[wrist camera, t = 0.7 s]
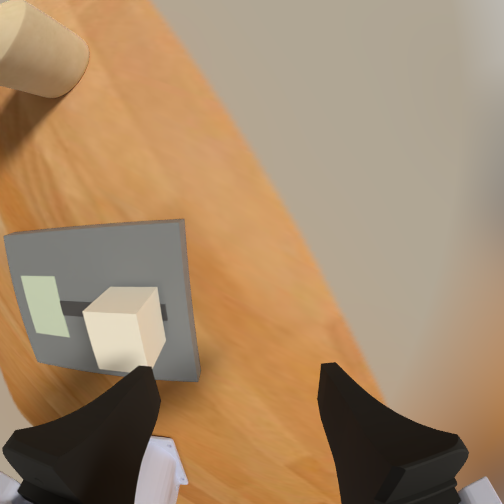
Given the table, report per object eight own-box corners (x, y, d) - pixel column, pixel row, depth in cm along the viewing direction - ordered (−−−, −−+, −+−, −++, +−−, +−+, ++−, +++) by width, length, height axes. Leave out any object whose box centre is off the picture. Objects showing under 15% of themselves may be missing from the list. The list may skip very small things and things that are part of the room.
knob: (166, 340, 19) (149, 374, 16) (121, 337, 20) (99, 368, 16) (157, 286, 18) (136, 314, 15) (110, 286, 18) (82, 311, 15)
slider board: (200, 370, 22) (198, 382, 21) (45, 354, 22) (37, 362, 21) (184, 218, 19) (178, 222, 18) (14, 232, 19) (2, 236, 18)
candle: (29, 96, 17) (-57, 78, 7) (53, 37, 15) (-21, -2, 6) (74, 102, 17) (-20, 75, 7) (101, 38, 16) (27, -18, 6)
